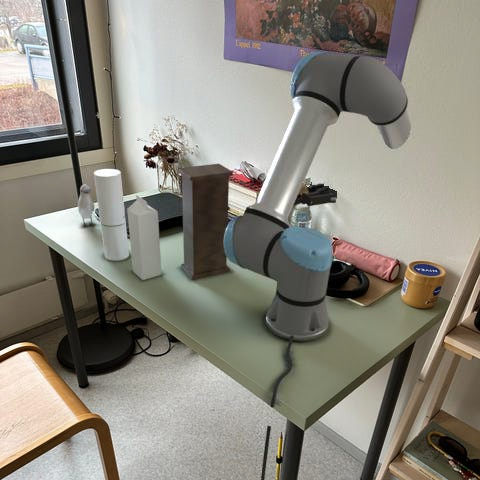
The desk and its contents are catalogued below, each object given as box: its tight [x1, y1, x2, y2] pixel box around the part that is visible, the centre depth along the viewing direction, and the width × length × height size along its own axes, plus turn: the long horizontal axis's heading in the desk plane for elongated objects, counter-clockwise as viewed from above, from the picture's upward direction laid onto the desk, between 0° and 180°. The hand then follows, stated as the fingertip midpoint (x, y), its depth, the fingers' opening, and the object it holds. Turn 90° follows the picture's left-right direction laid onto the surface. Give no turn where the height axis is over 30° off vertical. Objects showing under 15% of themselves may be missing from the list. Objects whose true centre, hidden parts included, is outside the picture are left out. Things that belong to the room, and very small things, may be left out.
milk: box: [126, 195, 162, 281], centre depth 128 cm, size 6×6×22 cm
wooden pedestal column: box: [177, 163, 234, 281], centre depth 129 cm, size 12×8×29 cm, turn 119°
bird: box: [77, 183, 96, 228], centre depth 156 cm, size 5×14×15 cm, turn 29°
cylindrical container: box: [93, 168, 130, 262], centre depth 136 cm, size 7×7×25 cm
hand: (277, 199), depth 137 cm, fingers closed on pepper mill, 4 cm apart
